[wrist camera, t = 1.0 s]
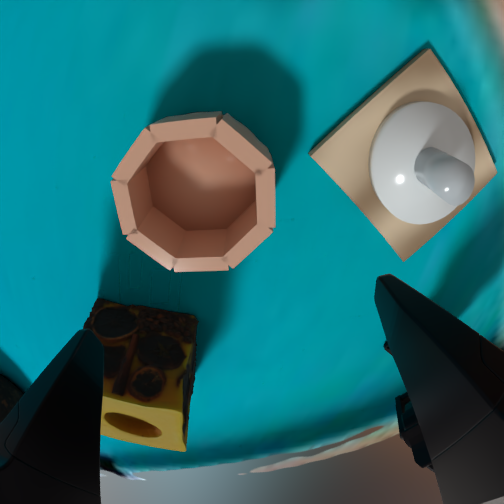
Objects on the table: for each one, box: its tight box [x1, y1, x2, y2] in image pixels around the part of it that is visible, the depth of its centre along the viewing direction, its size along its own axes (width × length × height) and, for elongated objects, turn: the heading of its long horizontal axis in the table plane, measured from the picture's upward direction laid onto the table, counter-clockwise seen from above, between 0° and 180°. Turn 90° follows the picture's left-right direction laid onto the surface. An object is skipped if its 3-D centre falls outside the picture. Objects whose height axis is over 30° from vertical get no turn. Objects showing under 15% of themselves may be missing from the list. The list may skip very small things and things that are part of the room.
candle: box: [83, 298, 199, 452], centre depth 24 cm, size 10×10×10 cm
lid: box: [368, 101, 475, 224], centre depth 16 cm, size 9×9×4 cm
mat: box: [308, 49, 497, 262], centre depth 18 cm, size 12×12×1 cm
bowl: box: [111, 111, 275, 272], centre depth 18 cm, size 9×9×4 cm
